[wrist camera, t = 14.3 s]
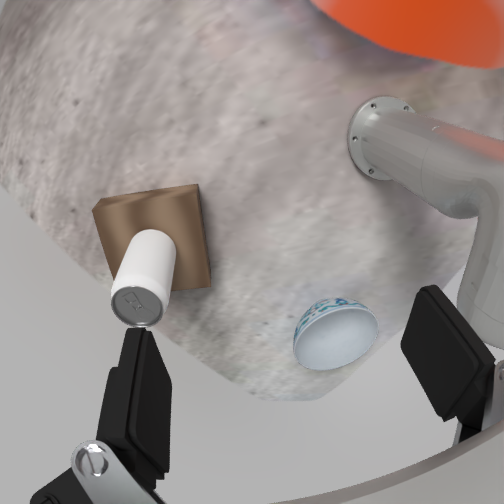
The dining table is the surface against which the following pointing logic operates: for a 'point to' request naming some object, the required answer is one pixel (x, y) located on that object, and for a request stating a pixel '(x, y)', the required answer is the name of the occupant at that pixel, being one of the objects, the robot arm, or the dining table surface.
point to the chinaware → (334, 334)
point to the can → (144, 279)
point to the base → (162, 219)
